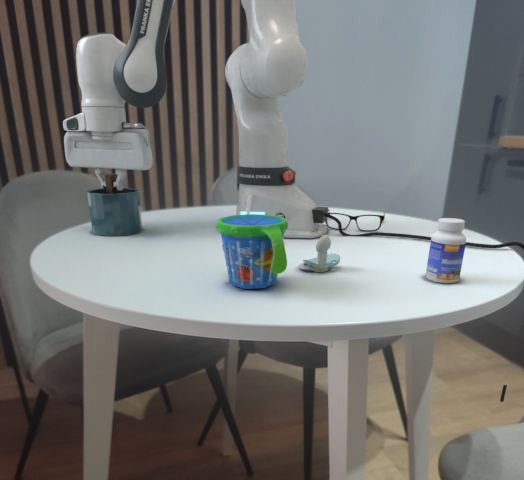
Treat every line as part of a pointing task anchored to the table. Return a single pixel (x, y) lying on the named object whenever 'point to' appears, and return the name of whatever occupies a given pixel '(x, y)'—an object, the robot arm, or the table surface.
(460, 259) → the pill bottle
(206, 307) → the table surface
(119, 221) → the canister
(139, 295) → the table surface
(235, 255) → the snack cup
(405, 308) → the table surface
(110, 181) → the scrubber
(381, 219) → the eyeglasses
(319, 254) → the pacifier
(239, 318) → the table surface
